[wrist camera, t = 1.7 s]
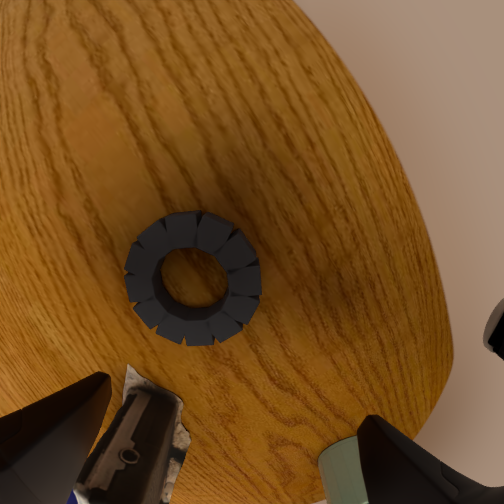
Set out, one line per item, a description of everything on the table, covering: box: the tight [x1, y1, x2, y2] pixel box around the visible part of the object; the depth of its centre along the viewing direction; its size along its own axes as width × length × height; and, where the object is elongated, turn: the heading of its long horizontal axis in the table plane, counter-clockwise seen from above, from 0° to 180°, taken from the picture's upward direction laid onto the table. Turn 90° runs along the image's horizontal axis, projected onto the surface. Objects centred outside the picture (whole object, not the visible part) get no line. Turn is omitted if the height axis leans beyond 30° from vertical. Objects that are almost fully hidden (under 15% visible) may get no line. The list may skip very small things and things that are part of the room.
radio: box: [73, 364, 191, 504], centre depth 16 cm, size 23×9×15 cm, turn 157°
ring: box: [124, 210, 262, 346], centre depth 18 cm, size 9×9×2 cm
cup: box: [318, 436, 369, 504], centre depth 20 cm, size 7×7×9 cm
